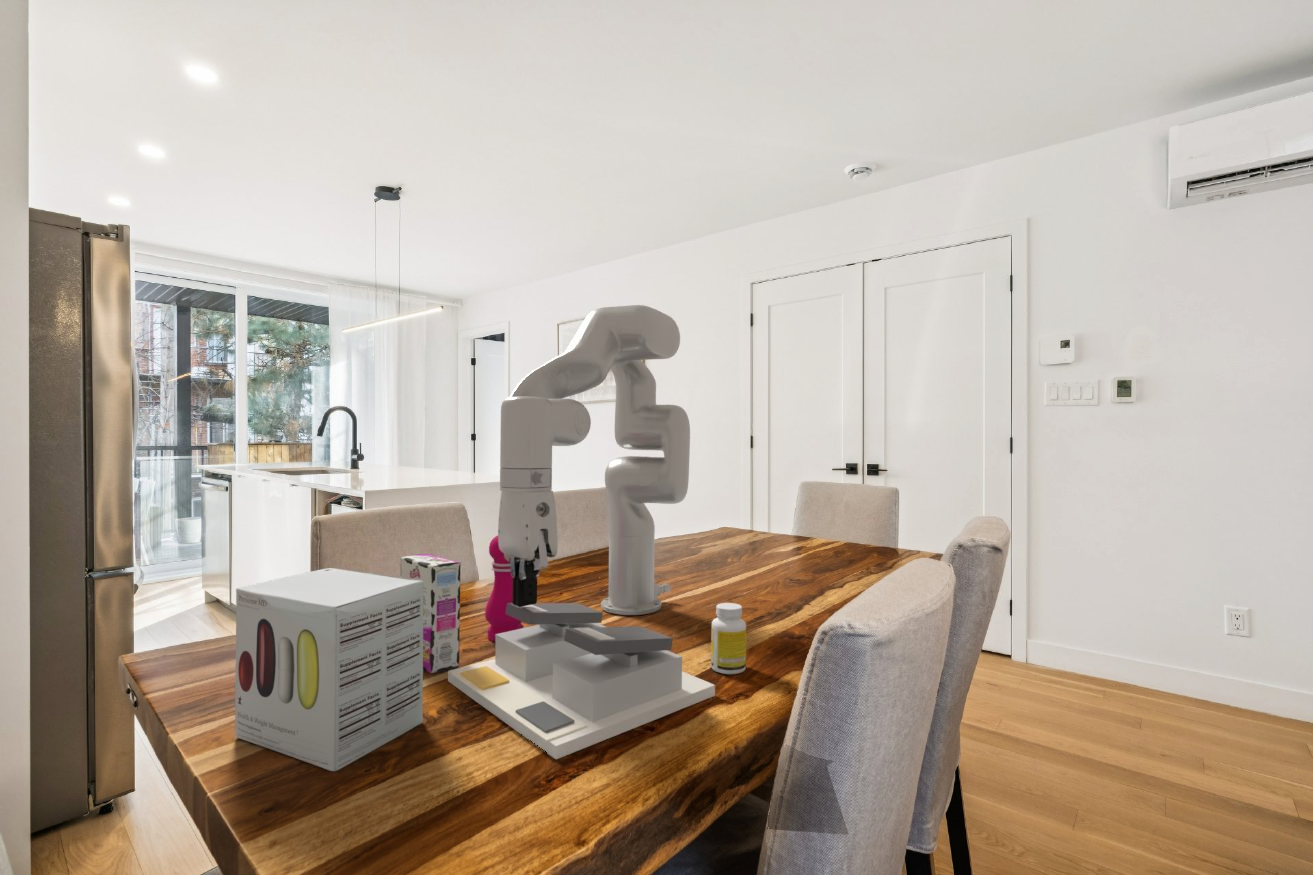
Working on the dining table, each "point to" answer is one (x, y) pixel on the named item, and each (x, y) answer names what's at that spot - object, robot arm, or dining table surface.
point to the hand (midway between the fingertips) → (524, 603)
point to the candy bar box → (437, 608)
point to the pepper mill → (500, 595)
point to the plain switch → (617, 639)
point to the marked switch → (554, 613)
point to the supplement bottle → (728, 640)
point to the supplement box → (328, 664)
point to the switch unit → (575, 688)
